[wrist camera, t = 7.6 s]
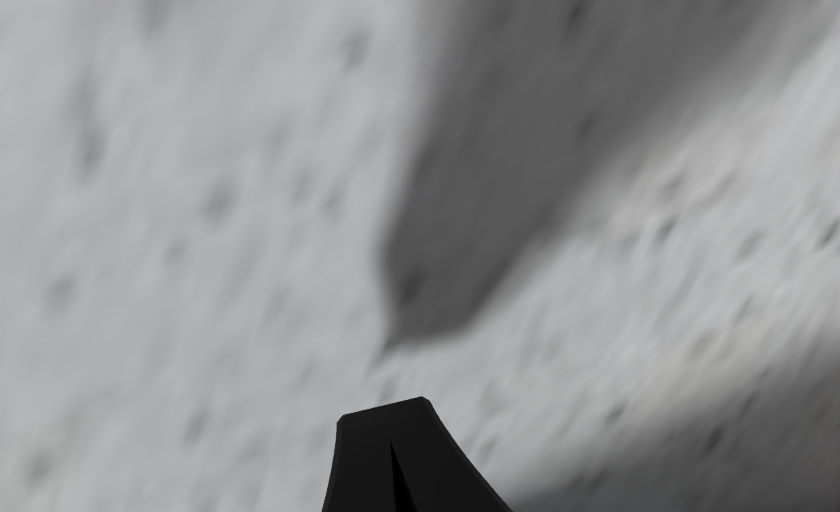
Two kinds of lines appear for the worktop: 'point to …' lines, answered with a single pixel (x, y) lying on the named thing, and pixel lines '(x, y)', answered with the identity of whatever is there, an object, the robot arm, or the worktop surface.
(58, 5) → the worktop surface
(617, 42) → the worktop surface
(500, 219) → the worktop surface
